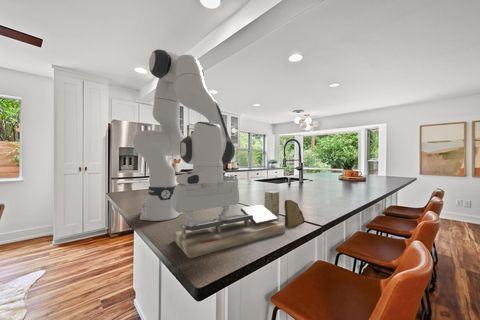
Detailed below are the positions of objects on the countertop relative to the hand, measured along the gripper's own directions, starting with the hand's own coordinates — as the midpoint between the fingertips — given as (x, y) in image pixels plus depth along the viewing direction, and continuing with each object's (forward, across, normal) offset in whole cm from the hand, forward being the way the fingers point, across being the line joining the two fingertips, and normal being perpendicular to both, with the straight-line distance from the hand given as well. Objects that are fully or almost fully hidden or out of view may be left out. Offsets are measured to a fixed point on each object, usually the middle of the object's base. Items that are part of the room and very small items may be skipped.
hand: (208, 222), depth 60 cm
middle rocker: (+2, -11, -4) cm, 12 cm away
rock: (+8, -41, -2) cm, 42 cm away
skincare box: (+8, -37, -12) cm, 40 cm away
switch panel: (+8, -11, -4) cm, 15 cm away
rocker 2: (+2, -23, -4) cm, 23 cm away
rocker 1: (+2, 0, -4) cm, 5 cm away
